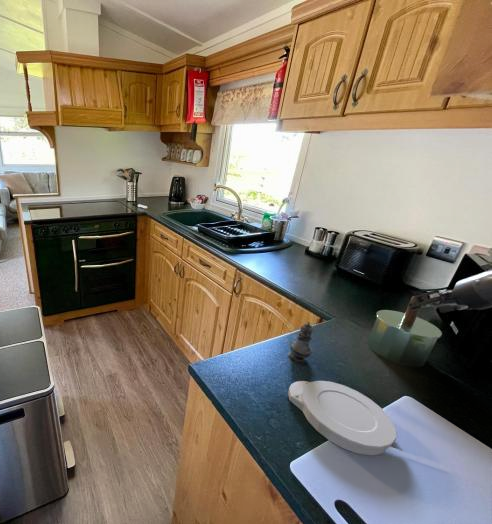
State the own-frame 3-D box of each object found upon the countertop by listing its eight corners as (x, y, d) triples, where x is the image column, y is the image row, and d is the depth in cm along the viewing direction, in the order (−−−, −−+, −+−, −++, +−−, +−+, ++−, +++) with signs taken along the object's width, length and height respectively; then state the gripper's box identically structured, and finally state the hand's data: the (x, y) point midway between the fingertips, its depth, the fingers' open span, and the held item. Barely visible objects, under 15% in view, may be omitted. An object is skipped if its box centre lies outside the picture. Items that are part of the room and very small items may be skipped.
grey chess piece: (283, 357, 83) (293, 321, 79) (290, 348, 87) (301, 314, 83) (305, 367, 79) (317, 330, 75) (312, 358, 83) (323, 322, 79)
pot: (408, 343, 94) (421, 315, 91) (437, 380, 78) (455, 348, 74) (359, 331, 99) (369, 304, 95) (377, 365, 82) (390, 333, 79)
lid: (303, 373, 77) (305, 364, 76) (398, 425, 63) (403, 415, 62) (273, 406, 66) (276, 396, 65) (381, 477, 52) (387, 465, 51)
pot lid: (425, 320, 89) (437, 293, 86) (451, 346, 76) (467, 316, 73) (369, 308, 94) (378, 283, 91) (384, 331, 81) (396, 302, 78)
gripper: (467, 302, 63) (404, 319, 78) (531, 306, 63) (456, 323, 78) (453, 270, 66) (395, 293, 81) (515, 275, 67) (445, 297, 81)
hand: (425, 308), depth 80 cm, fingers open, 8 cm apart
